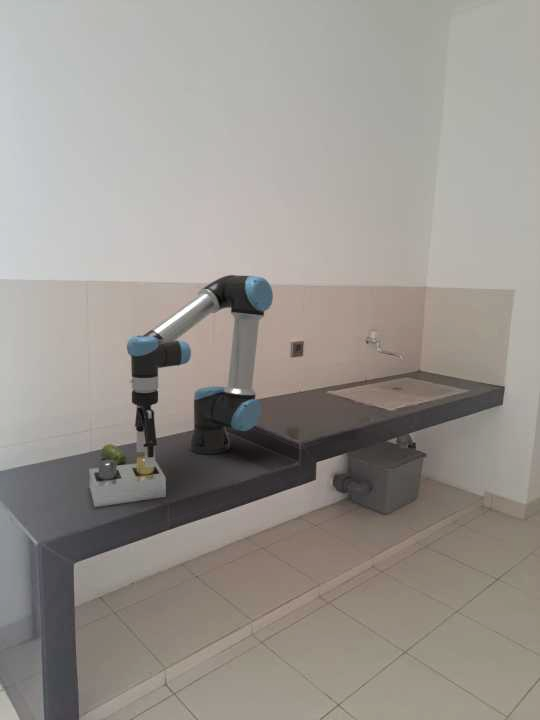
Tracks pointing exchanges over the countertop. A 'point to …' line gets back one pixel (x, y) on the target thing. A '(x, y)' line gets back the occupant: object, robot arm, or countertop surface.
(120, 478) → the block
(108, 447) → the pear
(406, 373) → the countertop surface
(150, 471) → the yellow piece
